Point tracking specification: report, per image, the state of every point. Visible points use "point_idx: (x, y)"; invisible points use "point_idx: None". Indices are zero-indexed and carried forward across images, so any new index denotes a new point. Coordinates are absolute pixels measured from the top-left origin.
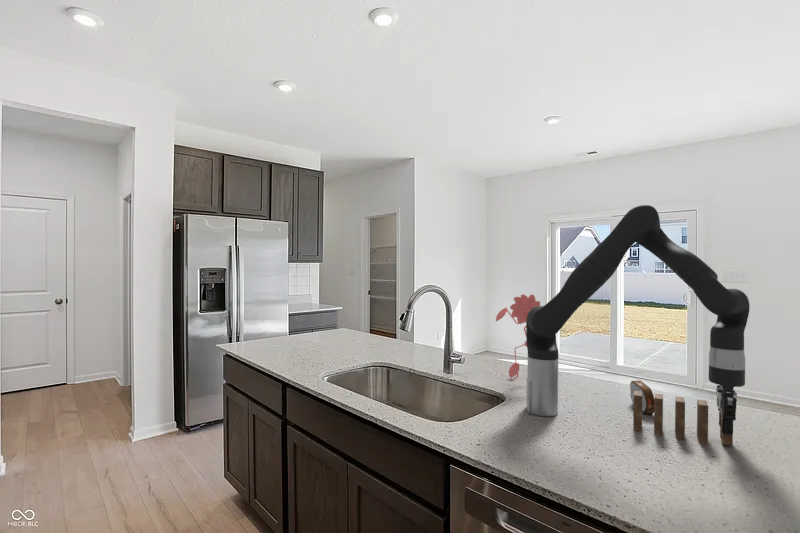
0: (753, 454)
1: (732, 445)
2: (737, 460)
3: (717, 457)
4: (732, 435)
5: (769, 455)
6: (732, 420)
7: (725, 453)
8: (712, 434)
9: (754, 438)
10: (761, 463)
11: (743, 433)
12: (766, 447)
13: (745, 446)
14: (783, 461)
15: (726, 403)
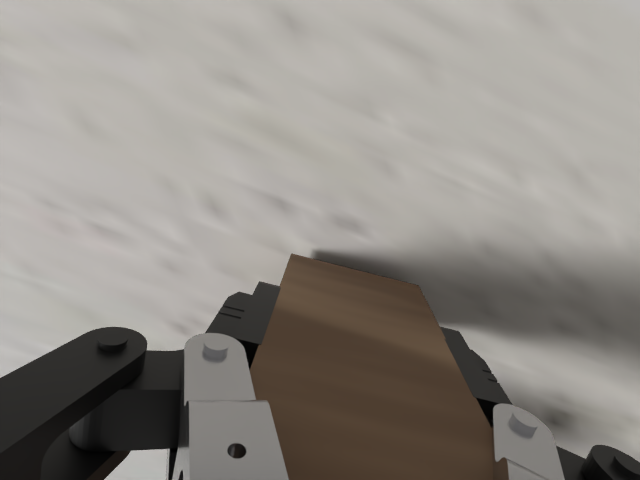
0: (479, 191)
1: (418, 286)
2: (593, 323)
3: (568, 404)
4: (434, 317)
5: (472, 91)
6: (490, 405)
7: (500, 344)
8: (190, 298)
9: (151, 40)
10: (617, 209)
11: (69, 77)
12: (319, 37)
13: (347, 180)
14: (562, 45)
15: None
